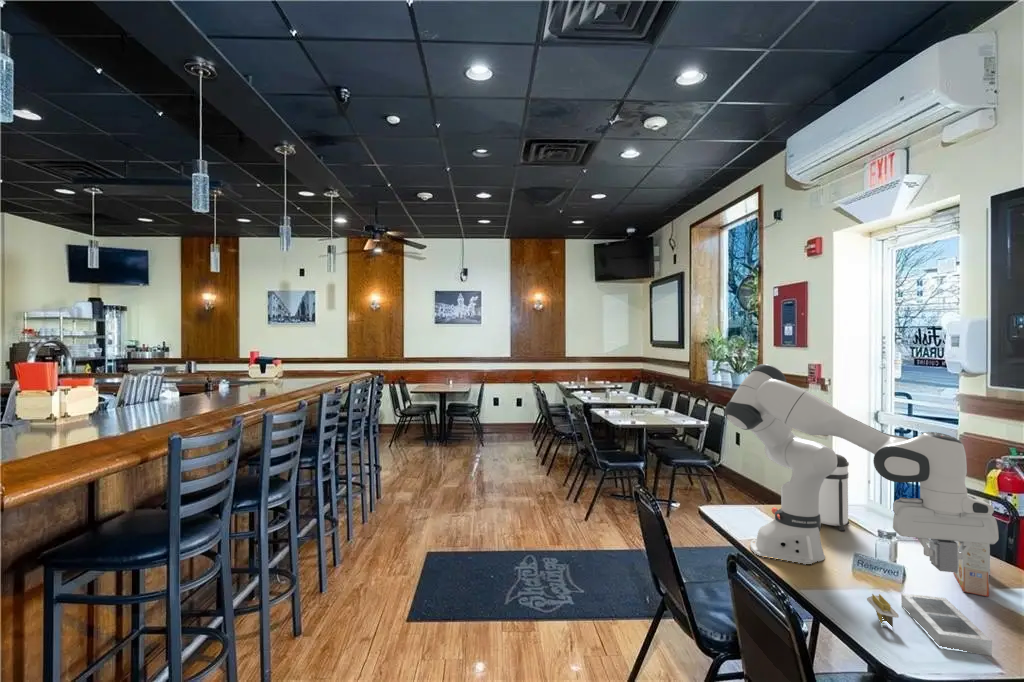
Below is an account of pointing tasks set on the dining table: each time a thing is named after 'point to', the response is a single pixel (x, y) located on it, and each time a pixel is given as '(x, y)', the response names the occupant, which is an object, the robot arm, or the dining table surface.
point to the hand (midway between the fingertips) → (944, 557)
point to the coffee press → (835, 496)
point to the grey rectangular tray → (946, 624)
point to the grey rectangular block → (945, 555)
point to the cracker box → (974, 569)
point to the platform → (882, 609)
